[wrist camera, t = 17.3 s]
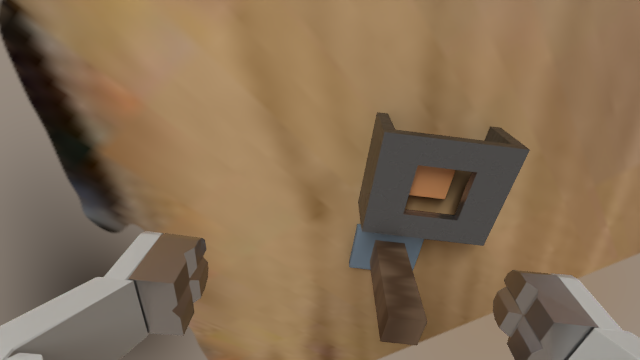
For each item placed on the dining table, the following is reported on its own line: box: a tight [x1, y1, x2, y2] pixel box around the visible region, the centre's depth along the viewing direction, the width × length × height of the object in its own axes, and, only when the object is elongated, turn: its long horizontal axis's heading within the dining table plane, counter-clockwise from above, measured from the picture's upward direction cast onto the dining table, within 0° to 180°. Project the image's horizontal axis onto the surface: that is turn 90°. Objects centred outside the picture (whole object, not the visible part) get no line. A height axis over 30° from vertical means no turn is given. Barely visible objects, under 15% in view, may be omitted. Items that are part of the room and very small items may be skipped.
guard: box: [358, 113, 529, 246], centre depth 36 cm, size 14×12×6 cm
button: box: [409, 165, 455, 199], centre depth 37 cm, size 5×5×2 cm
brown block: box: [370, 240, 427, 345], centre depth 38 cm, size 4×4×12 cm
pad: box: [349, 224, 424, 271], centre depth 44 cm, size 9×7×1 cm
